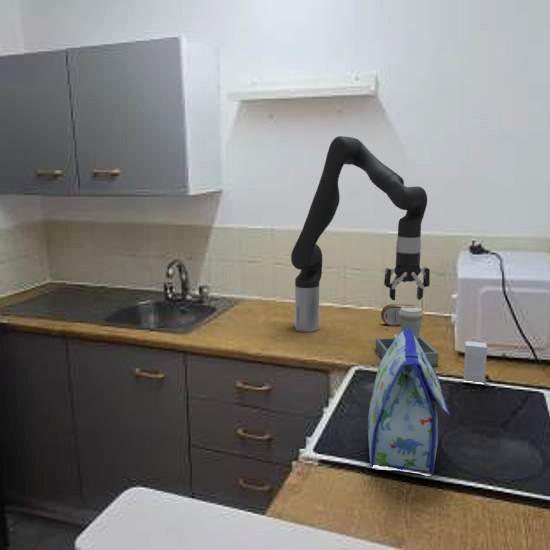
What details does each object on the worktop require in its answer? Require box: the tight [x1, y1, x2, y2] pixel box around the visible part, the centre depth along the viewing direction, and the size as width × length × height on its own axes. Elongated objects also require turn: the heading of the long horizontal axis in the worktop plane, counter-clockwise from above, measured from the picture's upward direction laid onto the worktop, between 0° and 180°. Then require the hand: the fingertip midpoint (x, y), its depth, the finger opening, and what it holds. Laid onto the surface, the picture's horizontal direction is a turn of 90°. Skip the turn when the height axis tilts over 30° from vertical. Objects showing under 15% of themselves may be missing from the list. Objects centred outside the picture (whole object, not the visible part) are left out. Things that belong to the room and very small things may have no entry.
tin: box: [380, 303, 415, 327], centre depth 217 cm, size 15×3×8 cm, turn 84°
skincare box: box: [463, 340, 488, 384], centre depth 163 cm, size 6×4×12 cm
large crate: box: [375, 336, 439, 368], centre depth 183 cm, size 16×16×4 cm
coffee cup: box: [399, 305, 424, 337], centre depth 199 cm, size 8×8×12 cm
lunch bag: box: [367, 329, 451, 475], centre depth 125 cm, size 22×17×26 cm
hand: (406, 299), depth 180 cm, fingers open, 8 cm apart
